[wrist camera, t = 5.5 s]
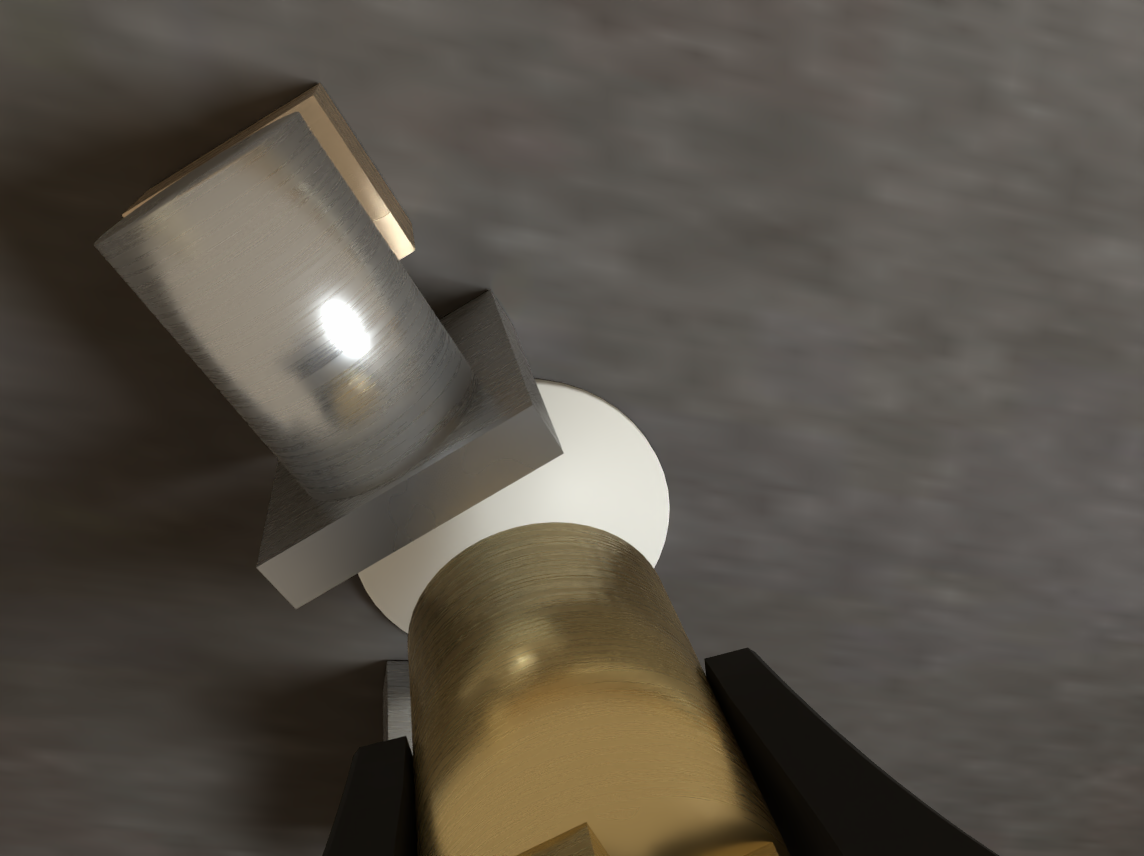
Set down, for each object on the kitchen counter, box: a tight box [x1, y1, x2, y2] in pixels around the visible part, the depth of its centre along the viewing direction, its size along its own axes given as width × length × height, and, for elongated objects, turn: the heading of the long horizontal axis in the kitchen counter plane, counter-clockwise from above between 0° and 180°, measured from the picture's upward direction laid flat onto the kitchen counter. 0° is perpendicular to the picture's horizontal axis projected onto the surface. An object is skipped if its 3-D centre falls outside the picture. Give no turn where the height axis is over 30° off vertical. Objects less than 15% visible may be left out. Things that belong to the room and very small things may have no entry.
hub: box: [408, 522, 791, 856], centre depth 11 cm, size 4×4×6 cm
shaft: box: [94, 83, 564, 609], centre depth 12 cm, size 5×4×5 cm
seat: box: [358, 379, 670, 633], centre depth 17 cm, size 6×6×1 cm
